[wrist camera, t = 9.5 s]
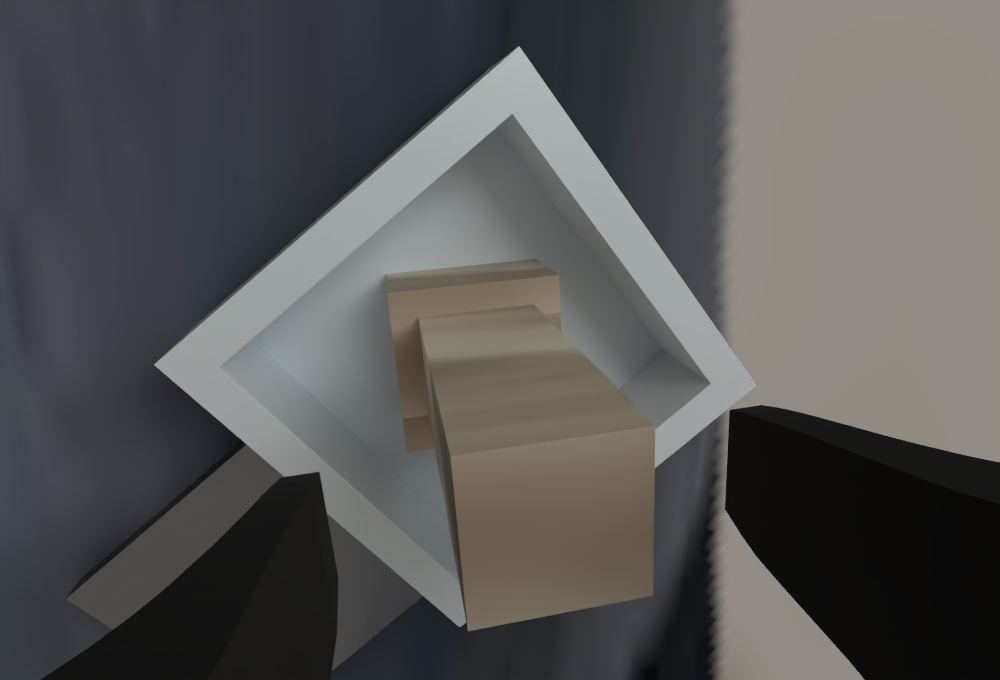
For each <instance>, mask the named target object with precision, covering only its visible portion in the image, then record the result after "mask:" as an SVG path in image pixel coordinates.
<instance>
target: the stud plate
mask: <svg viewBox="0 0 1000 680" xmlns="http://www.w3.org/2000/svg"><path fill="white" fill-rule="evenodd" d="M281 477H284V476H283V475H282V474H281V473H279V472H278V471H277V470H276V469H275V468H274V467H272V466H271V465H270V464H269V463H268V462H267V461H265V460H264V459H263V458H262V457H261V456H260V455H258V454H257V453H256V452H255V451H254V450H253V449H251V448H250V447H249V446H248V445H247V444H246V443H244V442H243V441H242V442H241V443H240V444H238V445H237V446H236V447H235V448H234V449H233V450H231V451H230V452H229V453H228V454H227V455H226V456H224V457H223V458H222V459H221V460H220V461H218V462H217V463H216V464H215V465H214V466H213V467H211V468H210V469H209V470H208V471H207V472H206V473H204V474H203V475H202V476H201V477H200V478H199V479H197V480H196V481H195V482H194V483H193V484H192V485H190V486H189V487H188V488H187V489H186V490H185V491H183V492H182V493H181V494H180V495H179V496H178V497H176V498H175V499H174V500H173V501H172V502H171V503H169V504H168V505H167V506H166V507H165V508H164V509H162V510H161V511H160V512H159V513H158V514H157V515H155V516H154V517H153V518H152V519H151V520H150V521H148V522H147V523H146V524H145V525H144V526H143V527H141V528H140V529H139V530H138V531H137V532H136V533H134V534H133V535H132V536H131V537H130V538H128V539H127V540H126V541H125V542H124V543H123V544H121V545H120V546H119V547H118V548H117V549H116V550H114V551H113V552H112V553H111V554H110V555H109V556H107V557H106V558H105V559H104V560H103V561H102V562H100V563H99V564H98V565H97V566H96V567H95V568H93V569H92V570H91V571H90V572H89V573H88V574H86V575H85V576H84V577H83V578H82V579H81V580H79V581H78V582H77V584H76V585H75V587H74V588H73V590H72V591H71V592H70V594H69V595H68V597H67V598H66V599H67V600H68V601H70V602H71V603H73V604H74V605H76V606H77V607H79V608H80V609H82V610H83V611H85V612H86V613H88V614H89V615H91V616H92V617H94V618H95V619H97V620H98V621H100V622H101V623H103V624H104V625H106V626H107V627H109V628H111V629H112V630H113V629H115V628H116V627H117V626H119V625H120V624H121V623H123V622H124V621H125V620H127V619H128V618H129V617H131V616H132V615H133V614H135V613H136V612H137V611H138V610H140V609H141V608H142V607H143V606H145V605H146V604H147V603H148V602H149V601H151V600H152V599H153V598H154V597H156V596H157V595H158V594H159V593H160V592H162V591H163V590H164V589H165V588H166V587H167V586H168V585H170V584H171V583H172V582H173V581H174V580H175V579H176V578H177V577H178V576H179V575H181V574H182V573H183V572H184V571H185V570H186V569H187V568H188V567H189V566H191V565H192V564H193V563H194V562H195V561H196V560H197V559H198V558H199V557H200V556H202V555H203V554H204V553H205V552H206V551H207V550H208V549H209V548H210V547H212V546H213V545H214V544H215V543H216V542H217V541H218V540H219V539H220V538H221V537H222V536H223V535H224V534H225V533H226V532H227V531H228V530H229V529H230V528H231V527H232V526H233V525H234V524H235V523H236V522H237V521H238V520H239V519H240V518H241V517H242V516H243V515H244V514H245V513H246V512H247V511H248V510H249V509H250V507H251V506H252V505H253V504H254V503H255V502H256V501H257V500H258V499H259V498H260V497H261V496H262V495H263V494H264V493H265V492H266V491H267V490H268V489H269V488H270V487H271V486H272V485H273V484H274V483H275V482H276V481H277V480H278V479H280V478H281ZM327 517H328V522H329V528H330V534H331V539H332V545H333V550H334V556H335V562H336V567H337V573H338V617H337V637H336V645H335V652H334V658H333V665H332V671H333V670H334V669H335V668H336V667H338V666H339V665H340V664H341V663H342V662H344V661H345V660H346V659H347V658H348V657H350V656H351V655H352V654H353V653H355V652H356V651H357V650H358V649H359V648H361V647H362V646H363V645H364V644H365V643H367V642H368V641H369V640H370V639H372V638H373V637H374V636H375V635H376V634H378V633H379V632H380V631H381V630H382V629H384V628H385V627H386V626H387V625H389V624H390V623H391V622H392V621H393V620H395V619H396V618H397V617H398V616H400V615H401V614H402V613H403V612H404V611H406V610H407V609H408V608H409V607H410V606H412V605H413V604H414V603H415V602H417V601H418V600H419V599H420V598H421V597H423V595H422V594H420V593H419V592H418V591H417V590H416V589H415V588H413V587H412V586H411V585H410V584H409V583H408V582H406V581H405V580H404V579H403V578H402V577H401V576H399V575H398V574H397V573H396V572H395V571H394V570H392V569H391V568H390V567H389V566H388V565H387V564H385V563H384V562H383V561H382V560H381V559H380V558H378V557H377V556H376V555H375V554H374V553H373V552H371V551H370V550H369V549H368V548H367V547H366V546H364V545H363V544H362V543H361V542H360V541H359V540H357V539H356V538H355V537H354V536H353V535H352V534H350V533H349V532H348V531H347V530H346V529H345V528H343V527H342V526H341V525H340V524H339V523H338V522H336V521H335V520H334V519H333V518H332V517H331V516H329V515H328V514H327Z"/></svg>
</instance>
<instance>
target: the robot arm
mask: <svg viewBox="0 0 1000 680" xmlns="http://www.w3.org/2000/svg"><path fill="white" fill-rule="evenodd" d="M725 510H726V511H727V513H728V514H729V516H730V518H731V519H732V521H733V522H734V524H735V526H736V527H737V529H738V530H739V532H740V533H741V535H742V536H743V538H744V539H745V541H746V542H747V544H748V545H749V546H750V548H751V549H752V551H753V552H754V554H755V555H756V556H757V557H758V559H759V560H760V561H761V562H762V563H763V564H764V565H765V567H766V568H767V569H768V570H769V571H770V572H771V574H772V575H773V576H774V577H775V578H776V579H777V580H778V582H779V583H780V584H781V585H782V586H783V587H784V588H785V589H786V591H787V592H788V593H789V594H790V595H791V596H792V597H793V599H794V600H795V601H796V602H797V603H798V604H799V605H800V606H801V607H802V609H803V610H804V611H805V612H806V613H807V614H808V615H809V616H810V618H811V619H812V620H813V621H814V622H815V623H816V624H817V625H818V626H819V628H820V629H821V630H822V631H823V632H824V633H825V634H826V635H827V636H828V638H829V639H830V640H831V641H832V642H833V643H834V644H835V645H836V646H837V648H838V649H839V650H840V651H841V652H842V653H843V654H844V655H845V657H846V658H847V659H848V660H849V661H850V662H851V664H852V665H853V666H854V667H855V668H856V670H857V671H858V672H859V673H860V674H861V676H862V677H863V678H864V679H865V680H1000V463H999V462H994V461H989V460H984V459H979V458H975V457H970V456H965V455H961V454H956V453H952V452H948V451H944V450H940V449H936V448H931V447H927V446H923V445H919V444H915V443H911V442H907V441H903V440H900V439H896V438H892V437H888V436H884V435H881V434H877V433H873V432H870V431H866V430H863V429H859V428H855V427H852V426H848V425H844V424H841V423H837V422H833V421H829V420H826V419H822V418H819V417H815V416H811V415H807V414H803V413H799V412H795V411H791V410H786V409H782V408H776V407H769V406H763V405H760V406H753V407H747V408H740V409H733V410H730V416H729V438H728V459H727V480H726V501H725ZM337 617H338V573H337V567H336V562H335V556H334V550H333V545H332V539H331V534H330V528H329V522H328V517H327V511H326V506H325V500H324V495H323V489H322V483H321V478H320V472H314V473H307V474H301V475H294V476H287V477H281V478H280V479H278V480H277V481H276V482H275V483H274V484H273V485H272V486H271V487H270V488H269V489H268V490H267V491H266V492H265V493H264V494H263V495H262V496H261V497H260V498H259V499H258V500H257V501H256V502H255V503H254V504H253V505H252V506H251V507H250V509H249V510H248V511H247V512H246V513H245V514H244V515H243V516H242V517H241V518H240V519H239V520H238V521H237V522H236V523H235V524H234V525H233V526H232V527H231V528H230V529H229V530H228V531H227V532H226V533H225V534H224V535H223V536H222V537H221V538H220V539H219V540H218V541H217V542H216V543H215V544H214V545H213V546H212V547H210V548H209V549H208V550H207V551H206V552H205V553H204V554H203V555H202V556H200V557H199V558H198V559H197V560H196V561H195V562H194V563H193V564H192V565H191V566H189V567H188V568H187V569H186V570H185V571H184V572H183V573H182V574H181V575H179V576H178V577H177V578H176V579H175V580H174V581H173V582H172V583H171V584H170V585H168V586H167V587H166V588H165V589H164V590H163V591H162V592H160V593H159V594H158V595H157V596H156V597H154V598H153V599H152V600H151V601H149V602H148V603H147V604H146V605H145V606H143V607H142V608H141V609H140V610H138V611H137V612H136V613H135V614H133V615H132V616H131V617H129V618H128V619H127V620H125V621H124V622H123V623H121V624H120V625H119V626H117V627H116V628H115V629H113V630H112V631H111V632H109V633H108V634H107V635H105V636H104V637H103V638H101V639H100V640H99V641H97V642H96V643H95V644H93V645H92V646H90V647H89V648H88V649H86V650H85V651H83V652H82V653H80V654H79V655H77V656H76V657H74V658H73V659H71V660H70V661H68V662H67V663H65V664H64V665H62V666H61V667H59V668H58V669H56V670H55V671H53V672H52V673H50V674H49V675H47V676H46V677H44V678H43V679H41V680H330V678H331V672H332V665H333V658H334V652H335V645H336V637H337Z"/></svg>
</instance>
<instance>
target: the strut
mask: <svg viewBox="0 0 1000 680" xmlns="http://www.w3.org/2000/svg"><path fill="white" fill-rule="evenodd" d="M386 285H387V298H388V306H389V314H390V322H391V330H392V338H393V346H394V354H395V362H396V370H397V378H398V386H399V394H400V402H401V410H402V418H403V426H404V434H405V442H406V450H407V452H414V451H421V450H427V449H435V454H436V460H437V465H438V470H439V476H440V481H441V487H442V492H443V498H444V503H445V509H446V514H447V519H448V525H449V530H450V536H451V541H452V547H453V552H454V558H455V563H456V568H457V574H458V579H459V585H460V590H461V596H462V601H463V607H464V612H465V617H466V623H467V628H468V631H472V630H477V629H482V628H487V627H493V626H498V625H503V624H508V623H513V622H518V621H524V620H529V619H534V618H539V617H544V616H550V615H555V614H560V613H565V612H570V611H576V610H581V609H586V608H591V607H596V606H602V605H607V604H612V603H617V602H622V601H627V600H633V599H638V598H643V597H648V596H653V562H654V485H655V425H654V424H653V423H652V422H651V421H650V420H649V419H648V418H647V417H646V416H645V415H644V414H643V413H642V412H641V411H640V410H639V409H638V408H637V407H636V406H635V405H634V404H633V403H632V402H631V401H630V400H629V399H628V398H627V397H626V396H625V395H624V394H623V393H622V392H621V391H620V390H619V389H618V388H617V387H616V386H615V385H614V384H613V383H612V382H611V381H610V380H609V379H608V378H607V377H606V376H605V375H604V374H603V373H602V372H601V371H600V370H599V369H598V368H597V367H596V366H595V365H594V364H593V363H592V362H591V361H590V360H589V359H588V358H587V357H586V356H585V355H584V354H583V353H582V352H581V351H580V350H579V349H578V348H577V347H576V346H575V345H574V344H573V343H572V342H571V341H570V340H569V339H568V338H567V337H566V336H565V335H564V334H563V333H562V332H561V313H560V285H559V275H558V274H557V273H555V272H554V271H553V270H551V269H550V268H548V267H547V266H545V265H544V264H543V263H541V262H540V261H538V260H537V259H530V260H520V261H510V262H500V263H490V264H480V265H470V266H460V267H450V268H440V269H430V270H420V271H410V272H400V273H390V274H386Z"/></svg>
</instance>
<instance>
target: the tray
mask: <svg viewBox="0 0 1000 680" xmlns="http://www.w3.org/2000/svg"><path fill="white" fill-rule="evenodd" d="M530 259H537V260H538V261H540V262H541V263H543V264H544V265H545V266H547V267H548V268H550V269H551V270H553V271H554V272H555V273H557V274H558V275H559V285H560V313H561V332H562V333H563V334H564V335H565V336H566V337H567V338H568V339H569V340H570V341H571V342H572V343H573V344H574V345H575V346H576V347H577V348H578V349H579V350H580V351H581V352H582V353H583V354H584V355H585V356H586V357H587V358H588V359H589V360H590V361H591V362H592V363H593V364H594V365H595V366H596V367H597V368H598V369H599V370H600V371H601V372H602V373H603V374H604V375H605V376H606V377H607V378H608V379H609V380H610V381H611V382H612V383H613V384H614V385H615V386H616V387H617V388H618V389H619V390H620V391H621V392H622V393H623V394H624V395H625V396H626V397H627V398H628V399H629V400H630V401H631V402H632V403H633V404H634V405H635V406H636V407H637V408H638V409H639V410H640V411H641V412H642V413H643V414H644V415H645V416H646V417H647V418H648V419H649V420H650V421H651V422H652V423H653V424H654V425H655V468H656V467H657V466H658V465H660V464H661V463H662V462H663V461H664V460H666V459H667V458H668V457H669V456H671V455H672V454H673V453H674V452H675V451H677V450H678V449H679V448H680V447H682V446H683V445H684V444H685V443H687V442H688V441H689V440H690V439H691V438H693V437H694V436H695V435H696V434H698V433H699V432H700V431H701V430H702V429H704V428H705V427H706V426H707V425H709V424H710V423H711V422H712V421H713V420H715V419H716V418H717V417H718V416H720V415H721V414H722V413H723V412H725V411H726V410H727V409H728V408H729V407H731V406H732V405H733V404H734V403H736V402H737V401H738V400H739V399H740V398H741V397H742V396H744V395H745V394H747V393H748V392H749V391H750V390H751V389H753V388H754V387H755V386H756V384H755V383H754V381H753V380H752V378H751V377H750V376H749V374H748V373H747V371H746V370H745V368H744V367H743V365H742V364H741V363H740V361H739V360H738V358H737V357H736V355H735V354H734V353H733V351H732V350H731V348H730V347H729V345H728V344H727V343H726V341H725V340H724V338H723V337H722V335H721V334H720V333H719V331H718V330H717V328H716V327H715V325H714V324H713V323H712V321H711V320H710V318H709V317H708V315H707V314H706V313H705V311H704V310H703V308H702V307H701V305H700V304H699V303H698V301H697V300H696V298H695V297H694V295H693V294H692V293H691V291H690V290H689V288H688V287H687V285H686V284H685V283H684V281H683V280H682V278H681V277H680V275H679V274H678V273H677V271H676V270H675V268H674V267H673V265H672V264H671V263H670V261H669V260H668V258H667V257H666V255H665V254H664V253H663V251H662V250H661V248H660V247H659V245H658V244H657V243H656V241H655V240H654V238H653V237H652V235H651V234H650V233H649V231H648V230H647V228H646V227H645V225H644V224H643V223H642V221H641V220H640V218H639V217H638V215H637V214H636V213H635V211H634V210H633V208H632V207H631V205H630V204H629V203H628V201H627V200H626V198H625V197H624V195H623V194H622V193H621V191H620V190H619V188H618V187H617V185H616V184H615V183H614V181H613V180H612V178H611V177H610V175H609V174H608V172H607V171H606V170H605V168H604V167H603V165H602V164H601V162H600V161H599V160H598V158H597V157H596V155H595V154H594V152H593V151H592V150H591V148H590V147H589V145H588V144H587V142H586V141H585V140H584V138H583V137H582V135H581V134H580V132H579V131H578V130H577V128H576V127H575V125H574V124H573V122H572V121H571V120H570V118H569V117H568V115H567V114H566V112H565V111H564V110H563V108H562V107H561V105H560V104H559V102H558V101H557V100H556V98H555V97H554V95H553V94H552V92H551V91H550V90H549V88H548V87H547V85H546V84H545V82H544V81H543V80H542V78H541V77H540V75H539V74H538V72H537V71H536V70H535V68H534V67H533V65H532V64H531V62H530V61H529V60H528V58H527V57H526V55H525V54H524V52H523V51H522V50H521V48H520V47H517V48H516V49H515V50H513V51H512V52H511V53H509V54H508V55H507V56H505V57H504V58H503V59H501V60H500V61H498V62H497V63H496V64H494V65H493V66H492V67H490V68H489V69H488V70H487V71H486V72H484V73H483V74H482V75H481V76H480V77H479V78H478V79H476V80H475V81H474V82H473V83H472V84H471V85H470V86H468V87H467V88H466V89H465V90H464V91H463V92H462V93H460V94H459V95H458V96H457V97H456V98H455V99H453V100H452V101H451V102H450V103H449V104H448V105H447V106H445V107H444V108H443V109H442V110H441V111H440V112H439V113H437V114H436V115H435V116H434V117H433V118H432V119H431V120H429V121H428V122H427V123H426V124H425V125H424V126H423V127H421V128H420V129H419V130H418V131H417V132H416V133H415V134H413V135H412V136H411V137H410V138H409V139H408V140H407V141H405V142H404V143H403V144H402V145H401V146H400V147H398V148H397V149H396V150H395V151H394V152H393V153H392V154H390V155H389V156H388V157H387V158H386V159H385V160H384V161H382V162H381V163H380V164H379V165H378V166H377V167H376V168H374V169H373V170H372V171H371V172H370V173H369V174H368V175H366V176H365V177H364V178H363V179H362V180H361V181H360V182H358V183H357V184H356V185H355V186H354V187H353V188H352V189H350V190H349V191H348V192H347V193H346V194H345V195H343V196H342V197H341V198H340V199H339V200H338V201H337V202H335V203H334V204H333V205H332V206H331V207H330V208H329V209H327V210H326V211H325V212H324V213H323V214H322V215H321V216H319V217H318V218H317V219H316V220H315V221H314V222H313V223H311V224H310V225H309V226H308V227H307V228H306V229H305V230H303V231H302V232H301V233H300V234H299V235H298V236H297V237H295V238H294V239H293V240H292V241H291V242H290V243H288V244H287V245H286V246H285V247H284V248H283V249H282V250H280V251H279V252H278V253H277V254H276V255H275V256H274V257H272V258H271V259H270V260H269V261H268V262H267V263H266V264H264V265H263V266H262V267H261V268H260V269H259V270H258V271H256V272H255V273H254V274H253V275H252V276H251V277H250V278H248V279H247V280H246V281H245V282H244V283H243V284H242V285H240V286H239V287H238V288H237V289H236V290H235V291H233V292H232V293H231V294H230V295H229V296H228V297H227V298H225V299H224V300H223V301H222V302H221V303H220V304H219V305H217V306H216V307H215V308H214V309H213V310H212V311H211V312H209V313H208V314H207V315H206V316H205V317H204V318H203V319H201V320H200V321H199V322H198V323H197V324H196V325H195V326H194V327H193V328H192V329H191V330H190V331H189V332H188V333H187V334H186V335H185V336H184V337H183V338H181V339H180V340H179V341H178V342H177V343H176V344H175V345H174V346H173V347H172V348H171V349H170V350H169V351H168V352H167V353H166V354H165V355H164V356H163V357H162V358H161V359H159V360H158V361H157V362H156V363H155V364H154V365H155V366H156V367H157V368H158V369H159V370H161V371H162V372H163V373H164V374H165V375H166V376H168V377H169V378H170V379H171V380H172V381H173V382H174V383H176V384H177V385H178V386H179V387H180V388H181V389H183V390H184V391H185V392H186V393H187V394H188V395H190V396H191V397H192V398H193V399H194V400H195V401H197V402H198V403H199V404H200V405H201V406H202V407H204V408H205V409H206V410H207V411H208V412H209V413H211V414H212V415H213V416H214V417H215V418H216V419H218V420H219V421H220V422H221V423H222V424H223V425H225V426H226V427H227V428H228V429H229V430H230V431H232V432H233V433H234V434H235V435H236V436H237V437H239V438H240V439H241V440H242V441H243V442H244V443H246V444H247V445H248V446H249V447H250V448H251V449H253V450H254V451H255V452H256V453H257V454H258V455H260V456H261V457H262V458H263V459H264V460H265V461H267V462H268V463H269V464H270V465H271V466H272V467H274V468H275V469H276V470H277V471H278V472H279V473H281V474H282V475H283V476H284V477H287V476H294V475H301V474H307V473H314V472H320V478H321V483H322V489H323V495H324V500H325V506H326V511H327V514H328V515H329V516H331V517H332V518H333V519H334V520H335V521H336V522H338V523H339V524H340V525H341V526H342V527H343V528H345V529H346V530H347V531H348V532H349V533H350V534H352V535H353V536H354V537H355V538H356V539H357V540H359V541H360V542H361V543H362V544H363V545H364V546H366V547H367V548H368V549H369V550H370V551H371V552H373V553H374V554H375V555H376V556H377V557H378V558H380V559H381V560H382V561H383V562H384V563H385V564H387V565H388V566H389V567H390V568H391V569H392V570H394V571H395V572H396V573H397V574H398V575H399V576H401V577H402V578H403V579H404V580H405V581H406V582H408V583H409V584H410V585H411V586H412V587H413V588H415V589H416V590H417V591H418V592H419V593H420V594H422V595H423V596H424V597H425V598H426V599H427V600H429V601H430V602H431V603H432V604H433V605H434V606H436V607H437V608H438V609H439V610H440V611H441V612H443V613H444V614H445V615H446V616H447V617H448V618H450V619H451V620H452V621H453V622H454V623H455V624H457V625H458V626H459V627H461V626H462V625H464V624H465V623H466V617H465V612H464V607H463V601H462V596H461V590H460V585H459V579H458V574H457V568H456V563H455V558H454V552H453V547H452V541H451V536H450V530H449V525H448V519H447V514H446V509H445V503H444V498H443V492H442V487H441V481H440V476H439V470H438V465H437V460H436V454H435V449H427V450H421V451H414V452H407V450H406V442H405V434H404V426H403V418H402V410H401V402H400V394H399V386H398V378H397V370H396V362H395V354H394V346H393V338H392V330H391V322H390V314H389V306H388V298H387V285H386V274H390V273H400V272H410V271H420V270H430V269H440V268H450V267H460V266H470V265H480V264H490V263H500V262H510V261H520V260H530Z"/></svg>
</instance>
